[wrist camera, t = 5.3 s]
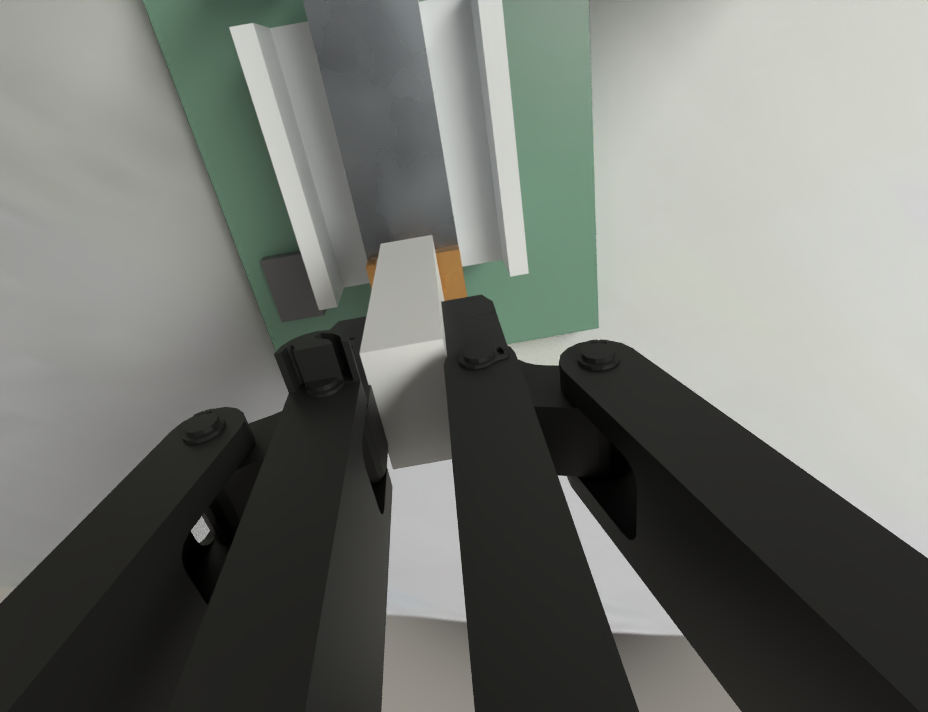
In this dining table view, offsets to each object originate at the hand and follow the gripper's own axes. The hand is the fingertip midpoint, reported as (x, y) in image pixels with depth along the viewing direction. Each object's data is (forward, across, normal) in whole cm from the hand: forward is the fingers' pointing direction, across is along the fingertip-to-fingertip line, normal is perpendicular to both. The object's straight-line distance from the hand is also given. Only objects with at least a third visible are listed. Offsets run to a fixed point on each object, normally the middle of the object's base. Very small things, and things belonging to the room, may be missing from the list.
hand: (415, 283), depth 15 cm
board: (+10, 0, +3) cm, 10 cm away
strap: (+3, 0, +3) cm, 5 cm away
